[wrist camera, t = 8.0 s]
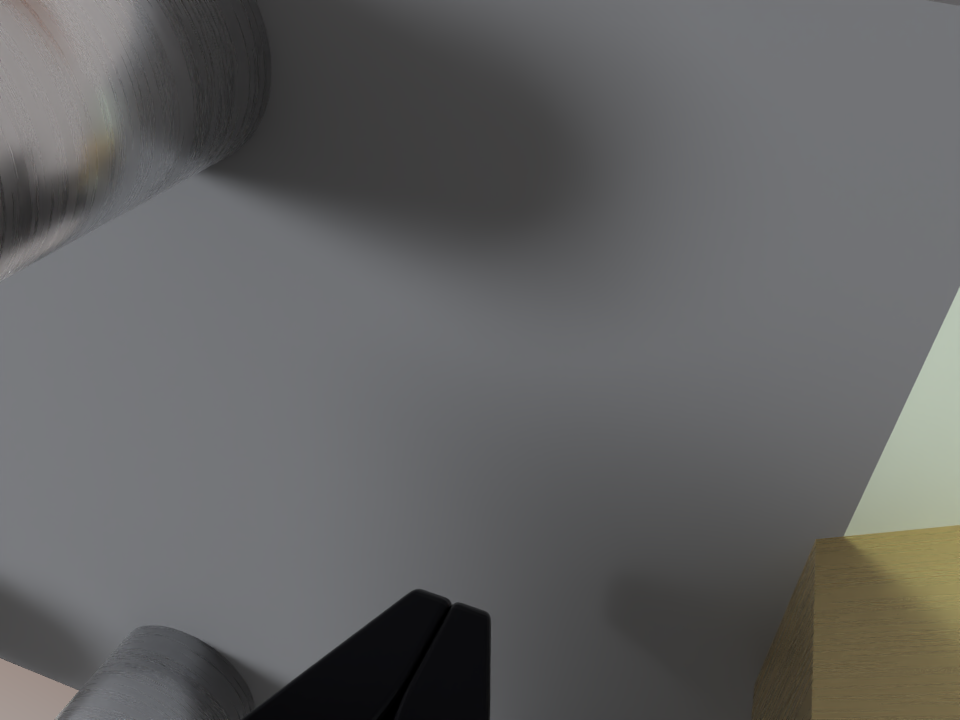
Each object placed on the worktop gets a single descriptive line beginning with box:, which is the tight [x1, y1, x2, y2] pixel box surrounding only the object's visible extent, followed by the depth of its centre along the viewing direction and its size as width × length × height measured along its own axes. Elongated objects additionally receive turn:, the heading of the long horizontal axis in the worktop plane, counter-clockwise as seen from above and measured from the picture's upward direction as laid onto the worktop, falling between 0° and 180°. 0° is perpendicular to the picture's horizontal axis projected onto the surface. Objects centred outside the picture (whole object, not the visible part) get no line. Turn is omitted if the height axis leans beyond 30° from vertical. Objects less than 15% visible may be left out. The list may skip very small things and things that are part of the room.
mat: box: [0, 0, 960, 720], centre depth 11 cm, size 23×13×1 cm, turn 84°
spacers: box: [0, 0, 271, 720], centre depth 10 cm, size 14×12×4 cm
